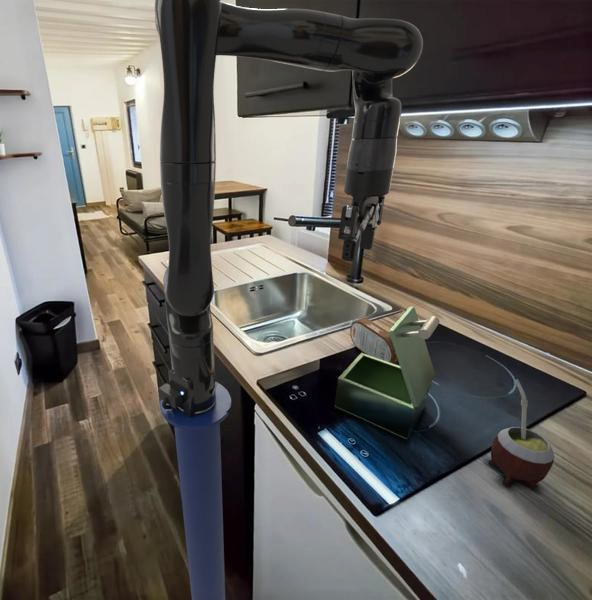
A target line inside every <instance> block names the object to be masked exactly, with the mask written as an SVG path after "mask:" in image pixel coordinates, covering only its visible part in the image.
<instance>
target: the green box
mask: <svg viewBox="0 0 592 600" xmlns="http://www.w3.org/2000/svg"><path fill="white" fill-rule="evenodd" d="M431 385H432V383H431V384H430V386H429V388H428V390H427V392H426V393H425V395H424V397H423V399H422V401H421V402H420V404H419V406H418V407H413V405H412V402H411V399H410V396H409V393H408V390H407V387H406V383H405V380H404V377H403V374H402V371H401V368H400V365H398V364H396V365H395V364H392V363H390V362H387V361H384V360H381V359H378V358H375V357H372V356H369V355H366V354H365V353H363V352H361V353H359V354H358V356H357V357H356V358H355V359H354V360H353V361H352V363H351V364H349V366H348V367H346V369H345V370H344V371H343V372H342V374H341V375H340V376H339V377H338V378H337V385H336V391H335V392H336V393H335V399H334V406H333V409H334V410H336V411H339V413H343V414H345V415H346V416H349V417H351V418H353V419H356V420H357V421H359V422H362V423H364V424H366V425H369V426H371V427H372V428H375V429H377V430H379V431H381V432H383V433H386V434H388V435H390V436H392V437H394V438H396V439H398V440H401V441H403V442H405V443H406V442H408V440H409V437H410V436H411V434H412V432H413V430H414V429H415V426H416V424H417V423H418V421H419V419H420V417H421V415H422V413H423V412H424V410H425V407H426V403H427V399H428V395H429V392H430V389H431Z"/></svg>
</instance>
